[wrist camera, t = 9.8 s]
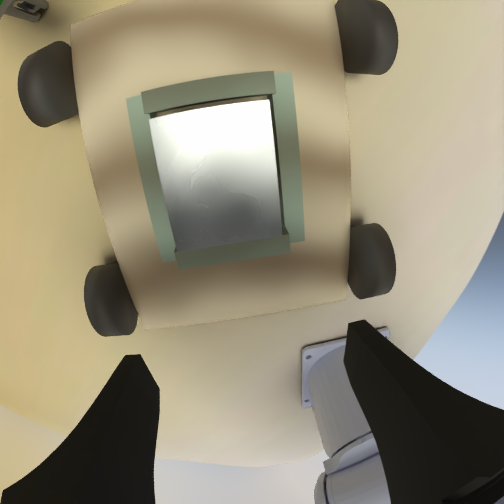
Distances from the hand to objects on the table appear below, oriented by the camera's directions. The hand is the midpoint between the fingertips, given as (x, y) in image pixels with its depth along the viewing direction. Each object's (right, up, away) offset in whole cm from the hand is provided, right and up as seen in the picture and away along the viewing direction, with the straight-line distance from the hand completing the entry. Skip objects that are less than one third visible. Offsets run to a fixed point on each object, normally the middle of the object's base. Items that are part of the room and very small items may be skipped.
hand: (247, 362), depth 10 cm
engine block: (-2, +9, +5) cm, 10 cm away
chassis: (-2, +9, +6) cm, 11 cm away
